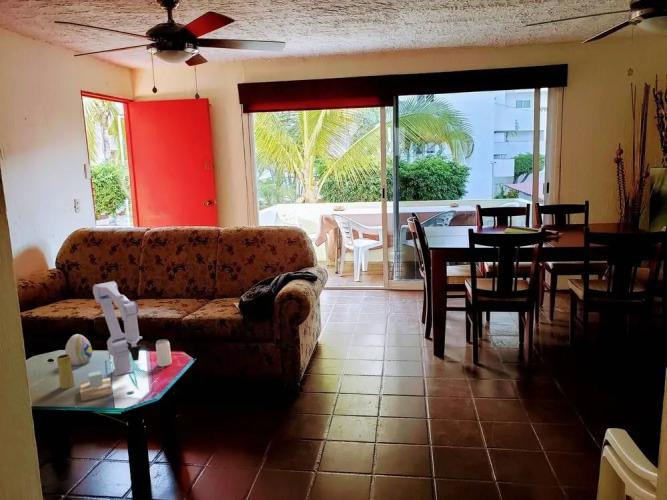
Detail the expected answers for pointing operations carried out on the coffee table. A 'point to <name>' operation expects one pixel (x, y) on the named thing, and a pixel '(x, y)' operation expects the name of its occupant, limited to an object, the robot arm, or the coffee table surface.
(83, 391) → the beech block
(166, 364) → the can
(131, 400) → the coffee table surface
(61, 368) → the vase
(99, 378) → the teal cube
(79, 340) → the decorative egg
